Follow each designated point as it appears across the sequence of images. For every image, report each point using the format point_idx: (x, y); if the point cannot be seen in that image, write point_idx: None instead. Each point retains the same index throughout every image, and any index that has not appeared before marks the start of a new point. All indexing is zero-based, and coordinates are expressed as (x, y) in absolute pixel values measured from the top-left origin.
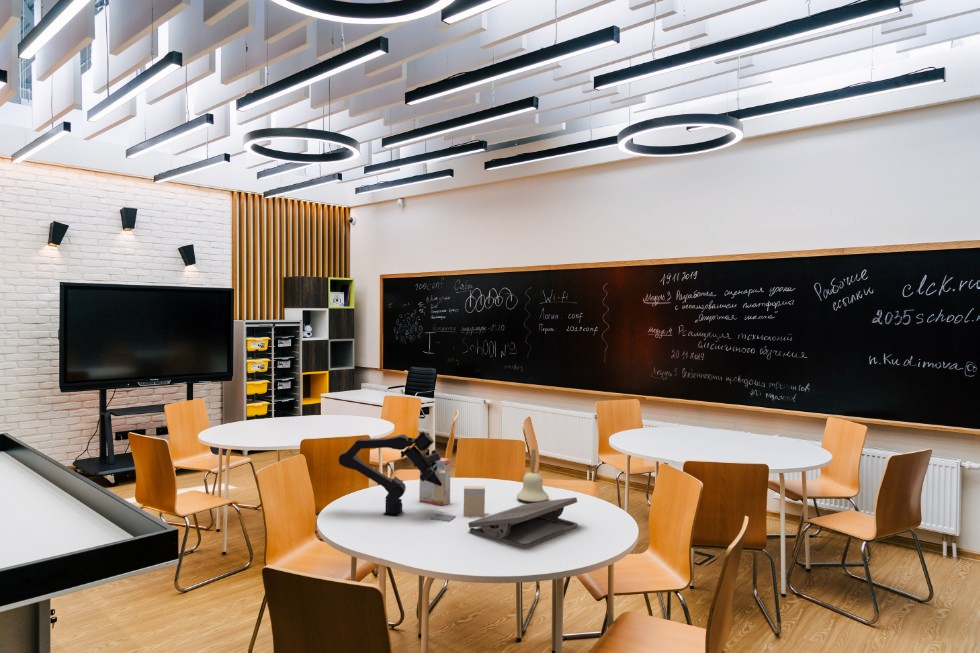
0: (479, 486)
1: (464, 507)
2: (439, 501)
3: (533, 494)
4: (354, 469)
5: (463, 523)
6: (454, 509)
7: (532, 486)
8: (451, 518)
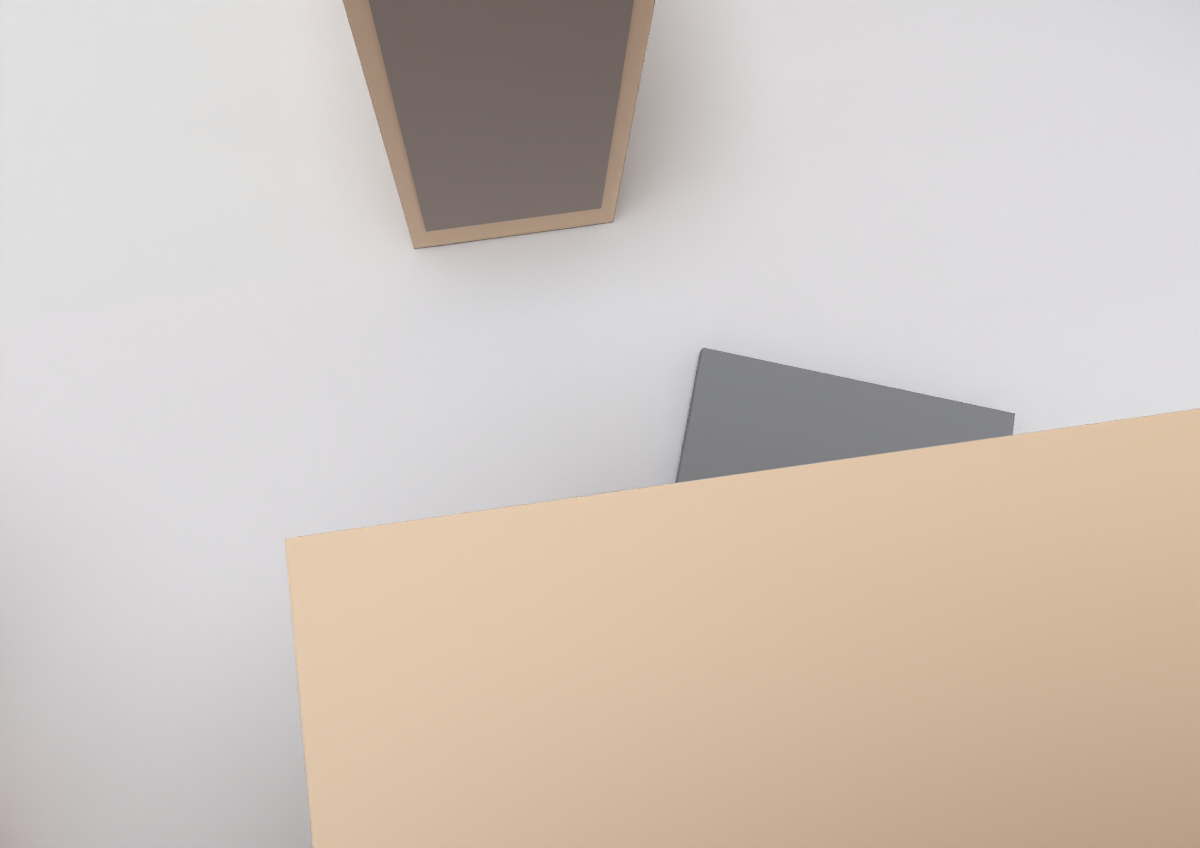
0: None
1: (623, 131)
2: None
3: None
4: None
5: (1021, 158)
6: (189, 483)
7: None
8: (867, 402)
